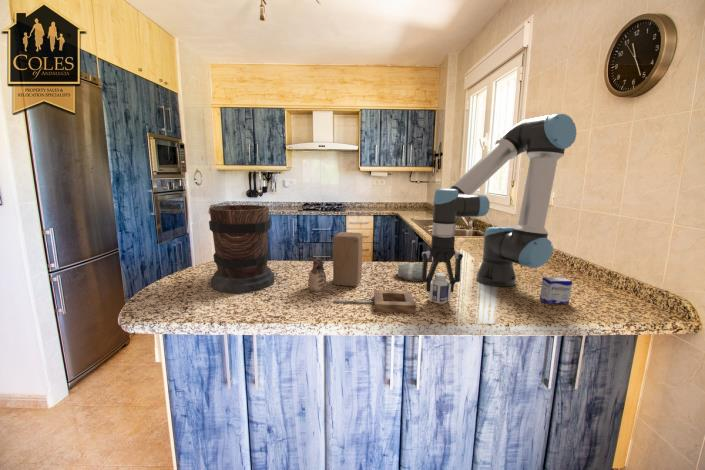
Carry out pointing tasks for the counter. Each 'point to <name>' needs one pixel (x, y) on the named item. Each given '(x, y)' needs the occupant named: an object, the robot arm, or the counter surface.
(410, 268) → the decorative stone
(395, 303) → the brown square frame
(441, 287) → the pill bottle
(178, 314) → the counter surface
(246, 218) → the wooden barrel
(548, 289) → the box
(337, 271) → the wooden block
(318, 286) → the figurine
